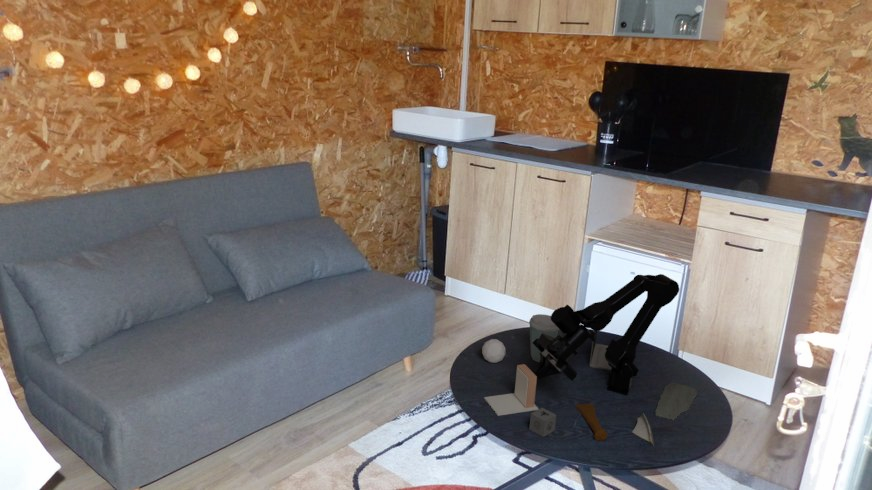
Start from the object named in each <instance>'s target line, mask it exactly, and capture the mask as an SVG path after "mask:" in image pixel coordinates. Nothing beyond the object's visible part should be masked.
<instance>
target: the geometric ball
mask: <svg viewBox="0 0 872 490" xmlns="http://www.w3.org/2000/svg"><path fill="white" fill-rule="evenodd" d="M481 349H482V350H481V352H482V355H483V358H484V360H486V361H487V362H489V363H493V364H496V363H499V362H501V361H503V360H504V357H505V356H506V347H505V345H504V343H503V342H502V341H500V340H498V339H497V338H491V339H489V340H487V341H485V342H484V344H483V345H482V347H481Z"/></svg>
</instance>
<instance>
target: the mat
mask: <svg viewBox="0 0 872 490" xmlns="http://www.w3.org/2000/svg"><path fill="white" fill-rule="evenodd" d="M514 394H515V392H513V393H506V394H498V395H489V396H484V397H483V398H484V399H483V400H484V401H485V402H486V403H487V404H488V405H489V407H490V406H491V409H492V410H493V412H494V411H495V412H494V413H495V414H496V416H498V417H499V416H506V415H512V414H518V413H526V412H532V411H533V412H534V411H537V410H538V409H539V407H538V406H537V405H536V404H535V403H534V407H532V408H525V406H524V405H523V404H522V403H521V402H520V401H519V400H518V398H517V397H516V396H515V395H514Z"/></svg>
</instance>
